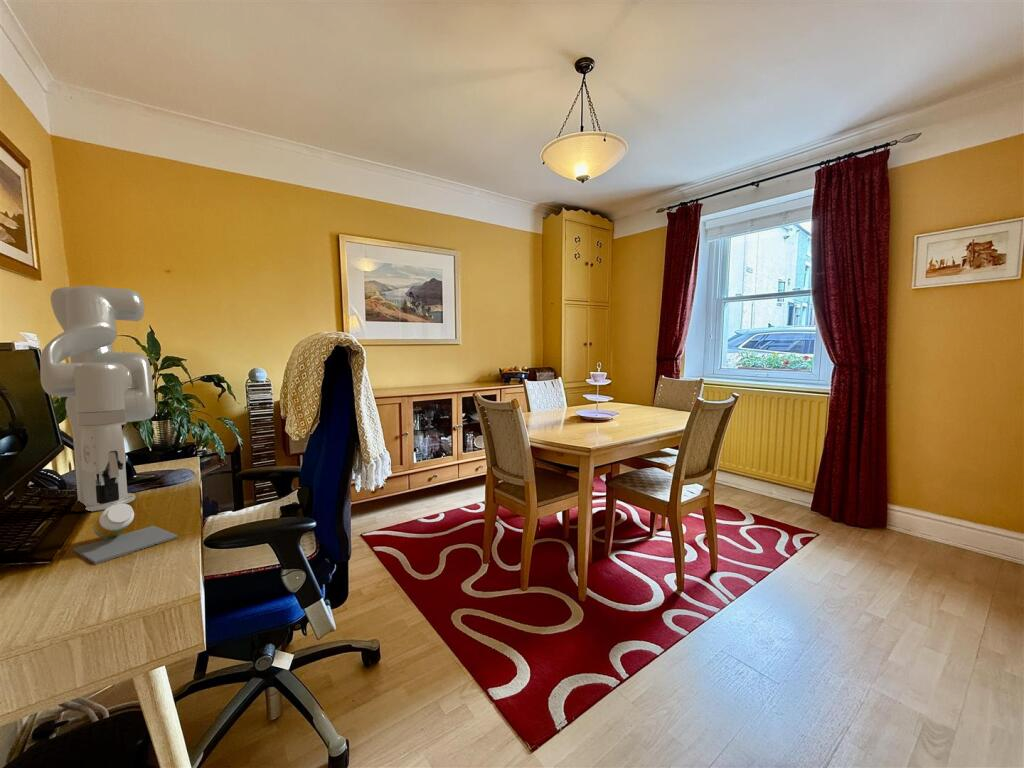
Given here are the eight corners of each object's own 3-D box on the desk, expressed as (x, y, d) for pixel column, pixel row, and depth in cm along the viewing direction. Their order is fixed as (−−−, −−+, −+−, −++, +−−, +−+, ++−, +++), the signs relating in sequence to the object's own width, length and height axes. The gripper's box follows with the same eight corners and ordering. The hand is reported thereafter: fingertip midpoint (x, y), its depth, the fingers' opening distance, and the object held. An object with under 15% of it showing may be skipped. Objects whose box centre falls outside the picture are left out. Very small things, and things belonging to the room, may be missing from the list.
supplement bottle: (105, 544, 88) (116, 531, 83) (85, 526, 87) (94, 512, 82) (133, 525, 92) (144, 512, 87) (114, 509, 91) (124, 494, 86)
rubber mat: (74, 551, 83) (73, 548, 83) (154, 527, 94) (153, 525, 94) (95, 564, 77) (95, 561, 77) (178, 538, 88) (177, 535, 88)
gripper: (66, 420, 89) (72, 502, 90) (90, 423, 82) (96, 512, 83) (112, 415, 96) (117, 492, 97) (138, 418, 88) (144, 501, 89)
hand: (108, 501), depth 90 cm, fingers closed
